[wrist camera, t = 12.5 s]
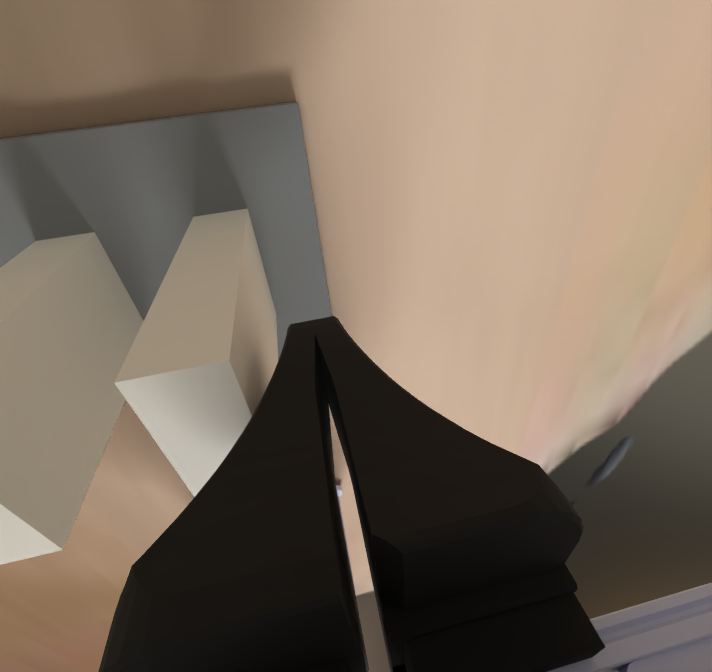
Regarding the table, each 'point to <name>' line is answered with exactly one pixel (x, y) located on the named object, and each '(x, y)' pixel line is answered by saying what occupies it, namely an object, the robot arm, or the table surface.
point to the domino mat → (172, 197)
